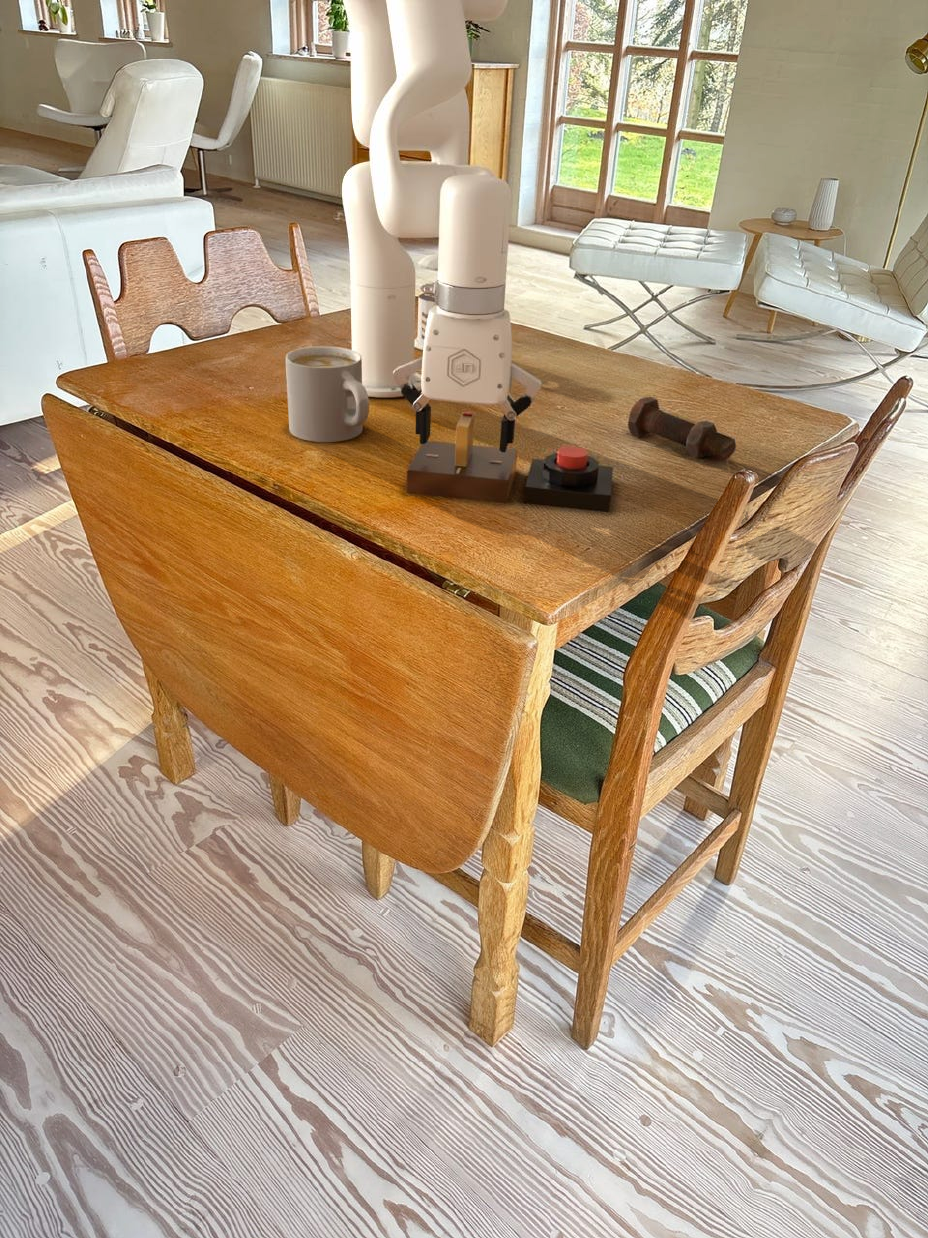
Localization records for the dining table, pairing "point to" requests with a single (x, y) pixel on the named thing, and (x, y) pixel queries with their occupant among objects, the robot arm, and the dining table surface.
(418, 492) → the plate
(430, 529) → the dining table surface
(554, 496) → the button box
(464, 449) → the gold slab
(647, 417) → the bolt
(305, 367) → the coffee mug
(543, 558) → the dining table surface
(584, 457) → the red button
